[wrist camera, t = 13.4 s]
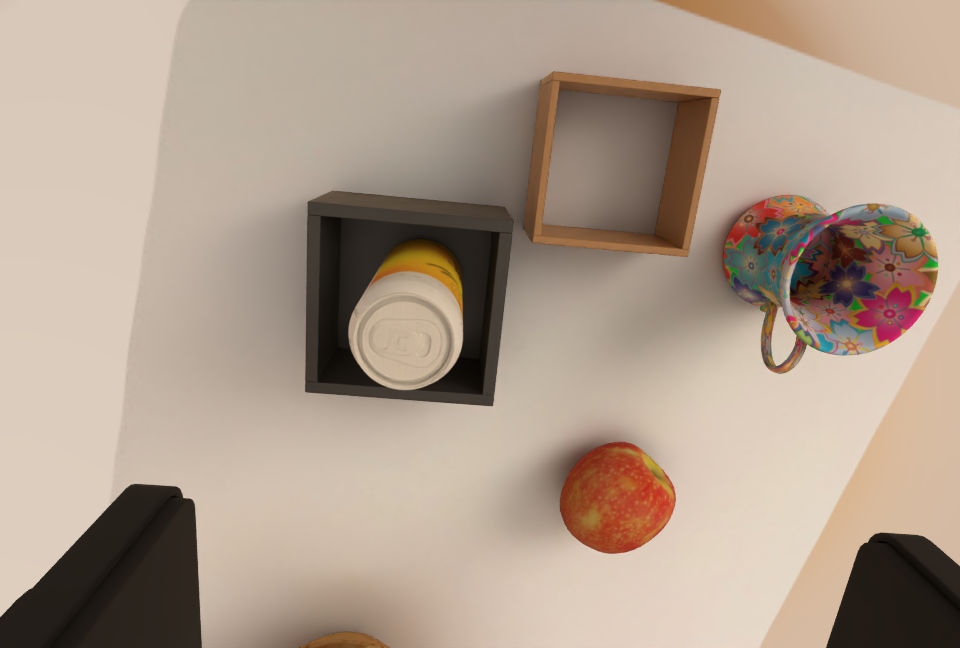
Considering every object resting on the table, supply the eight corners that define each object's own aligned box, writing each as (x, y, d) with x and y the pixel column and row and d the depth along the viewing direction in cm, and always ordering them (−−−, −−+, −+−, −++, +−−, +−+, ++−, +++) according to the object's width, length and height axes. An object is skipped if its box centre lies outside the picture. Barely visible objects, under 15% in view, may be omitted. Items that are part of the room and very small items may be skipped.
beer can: (454, 322, 47) (452, 405, 33) (375, 308, 46) (337, 387, 32) (468, 245, 45) (473, 297, 31) (386, 230, 45) (352, 276, 30)
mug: (754, 167, 45) (841, 177, 34) (858, 219, 46) (971, 244, 36) (673, 311, 48) (730, 359, 38) (772, 356, 49) (854, 414, 39)
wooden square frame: (540, 79, 42) (553, 71, 37) (686, 95, 43) (721, 89, 37) (523, 229, 45) (532, 242, 40) (659, 241, 46) (688, 257, 40)
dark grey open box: (332, 190, 44) (307, 201, 37) (505, 207, 45) (513, 220, 38) (328, 353, 48) (305, 392, 41) (488, 366, 49) (492, 406, 41)
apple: (670, 471, 52) (706, 529, 44) (595, 530, 53) (617, 596, 46) (611, 409, 50) (639, 459, 42) (535, 472, 52) (548, 531, 44)
